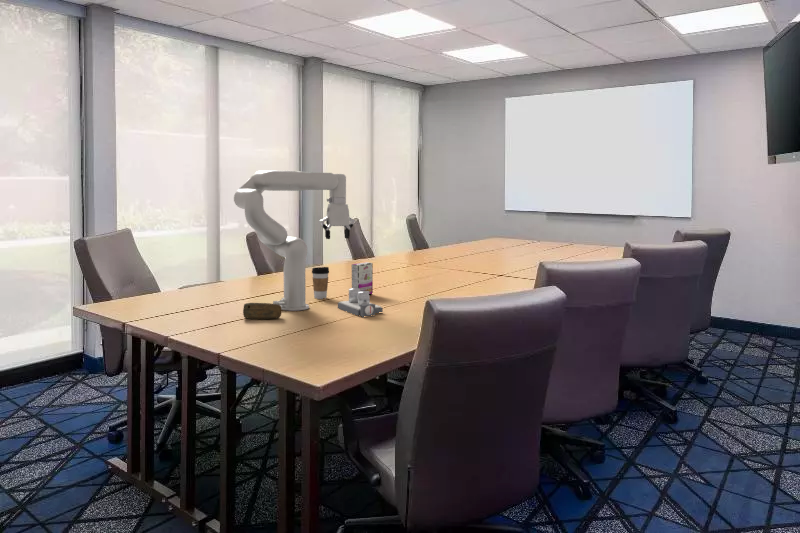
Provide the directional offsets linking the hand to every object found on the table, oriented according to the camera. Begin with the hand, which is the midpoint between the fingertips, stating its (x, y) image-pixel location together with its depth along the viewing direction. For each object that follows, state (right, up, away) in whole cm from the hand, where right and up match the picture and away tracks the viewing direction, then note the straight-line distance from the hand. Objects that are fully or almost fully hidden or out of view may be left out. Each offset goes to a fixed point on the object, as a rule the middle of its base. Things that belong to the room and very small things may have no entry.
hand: (337, 238), depth 272 cm
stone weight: (-27, -35, -31) cm, 54 cm away
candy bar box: (+10, -28, +25) cm, 38 cm away
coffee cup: (-10, -28, +17) cm, 35 cm away
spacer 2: (+13, -30, -16) cm, 36 cm away
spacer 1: (+8, -29, -8) cm, 31 cm away
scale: (+12, -33, -14) cm, 37 cm away
